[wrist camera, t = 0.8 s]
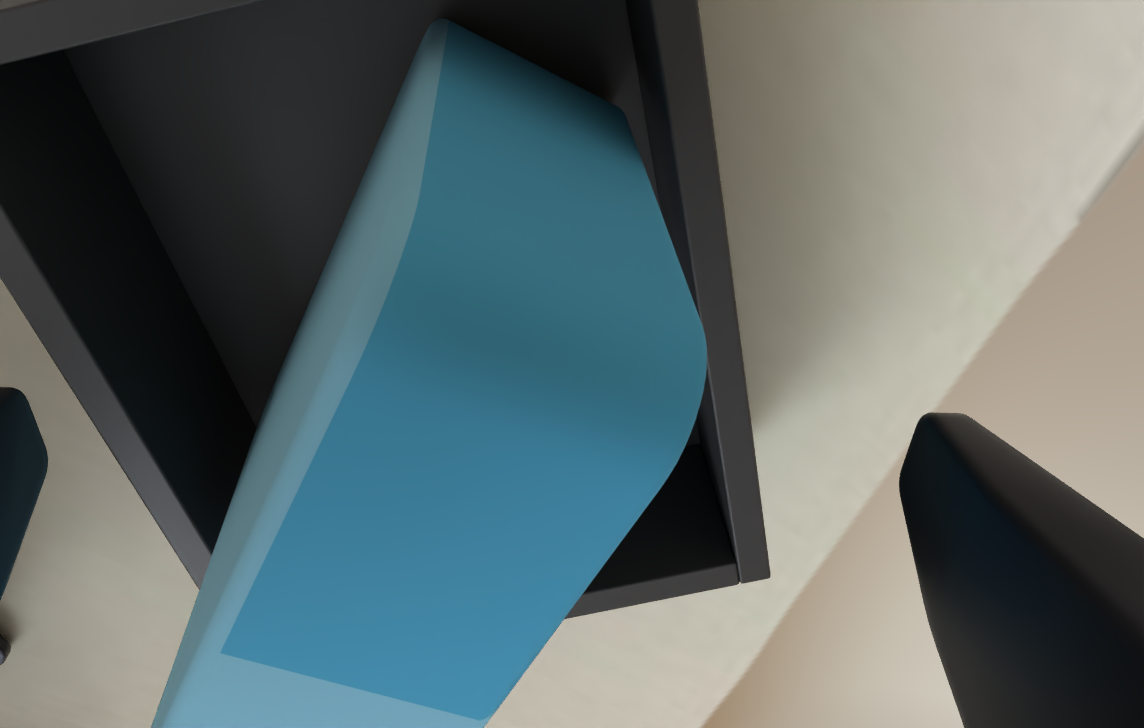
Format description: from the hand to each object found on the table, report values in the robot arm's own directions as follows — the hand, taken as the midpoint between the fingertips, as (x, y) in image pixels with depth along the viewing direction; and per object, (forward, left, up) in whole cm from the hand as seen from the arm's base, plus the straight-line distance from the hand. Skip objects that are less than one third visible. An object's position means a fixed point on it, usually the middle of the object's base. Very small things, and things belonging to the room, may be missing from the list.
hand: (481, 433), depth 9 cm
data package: (-3, -4, -14) cm, 15 cm away
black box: (-3, -4, -14) cm, 15 cm away
